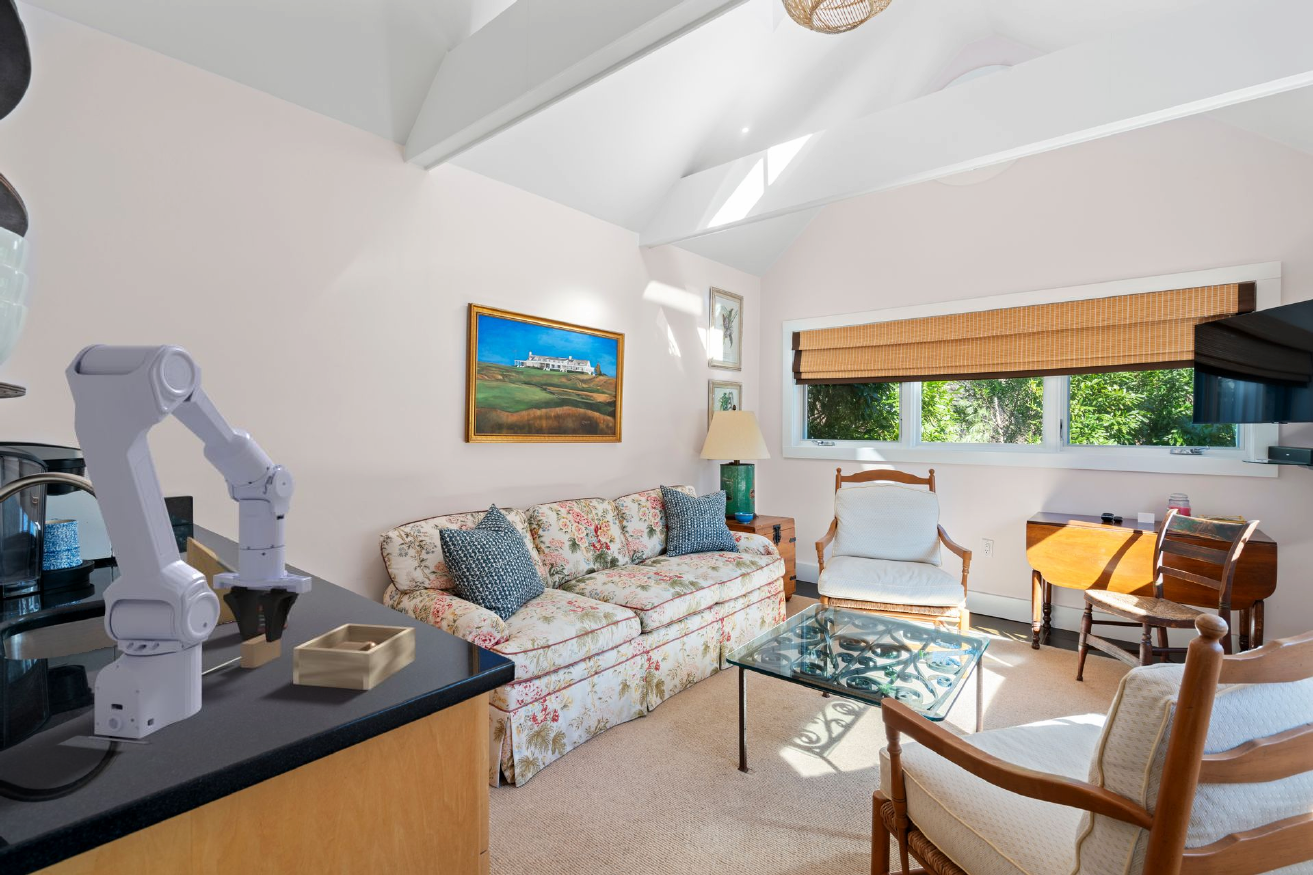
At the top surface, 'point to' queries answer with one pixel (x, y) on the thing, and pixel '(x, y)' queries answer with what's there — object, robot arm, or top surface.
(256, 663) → the lid
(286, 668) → the top surface
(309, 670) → the box
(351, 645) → the walnut block
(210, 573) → the sandwich container
